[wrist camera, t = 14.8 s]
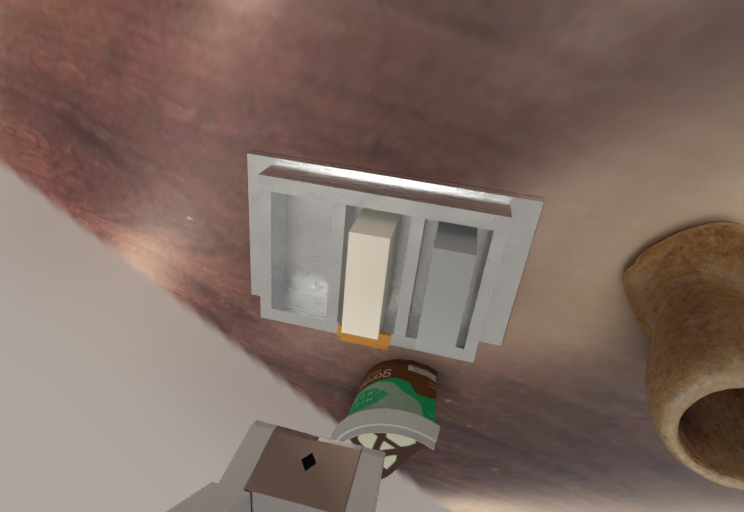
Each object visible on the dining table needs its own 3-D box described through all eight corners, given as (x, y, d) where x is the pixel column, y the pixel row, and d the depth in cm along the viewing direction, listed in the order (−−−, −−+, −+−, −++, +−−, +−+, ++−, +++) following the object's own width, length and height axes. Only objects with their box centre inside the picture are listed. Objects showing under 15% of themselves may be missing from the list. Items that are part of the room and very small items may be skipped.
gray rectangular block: (477, 221, 37) (476, 256, 31) (456, 313, 41) (452, 356, 36) (439, 215, 37) (433, 247, 32) (422, 306, 41) (414, 348, 36)
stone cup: (577, 272, 38) (628, 405, 25) (735, 193, 33) (902, 310, 20) (662, 395, 42) (744, 567, 29) (816, 342, 37) (1002, 522, 24)
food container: (397, 327, 44) (376, 403, 36) (446, 363, 45) (438, 446, 36) (329, 393, 50) (298, 472, 42) (374, 424, 51) (352, 508, 42)
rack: (542, 197, 36) (550, 221, 32) (498, 344, 43) (500, 379, 39) (252, 150, 39) (225, 166, 35) (256, 293, 46) (233, 321, 42)
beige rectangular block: (402, 208, 37) (390, 238, 32) (390, 299, 42) (377, 339, 37) (367, 201, 38) (348, 231, 33) (358, 293, 42) (341, 332, 37)
